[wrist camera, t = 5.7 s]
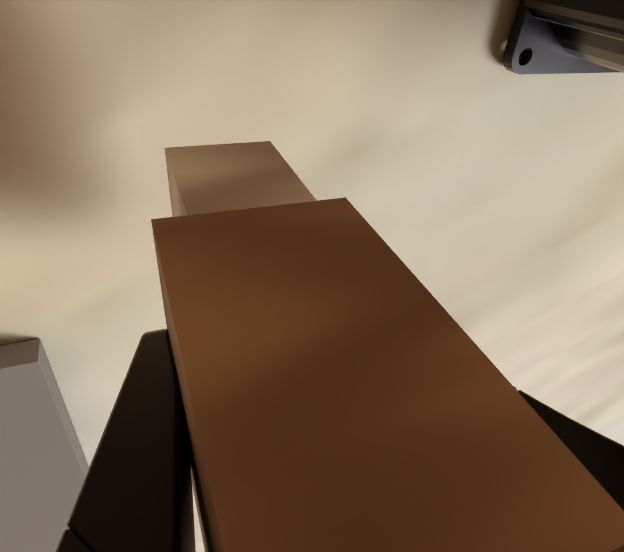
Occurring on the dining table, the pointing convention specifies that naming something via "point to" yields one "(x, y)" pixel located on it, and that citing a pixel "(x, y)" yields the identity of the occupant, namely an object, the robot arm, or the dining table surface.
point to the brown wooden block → (344, 385)
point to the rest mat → (35, 452)
